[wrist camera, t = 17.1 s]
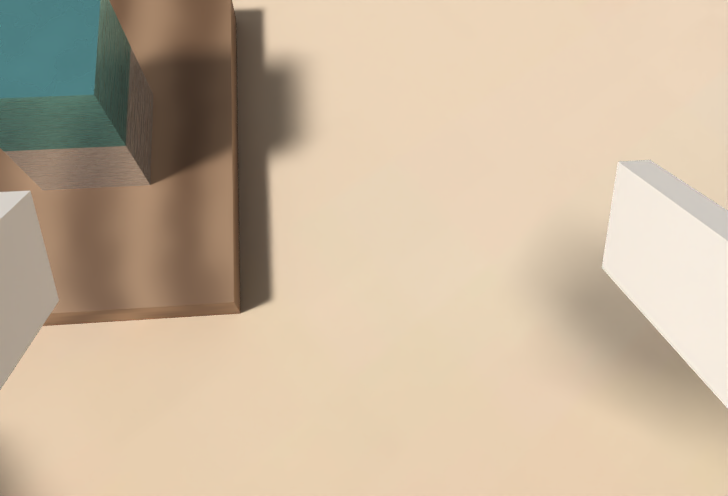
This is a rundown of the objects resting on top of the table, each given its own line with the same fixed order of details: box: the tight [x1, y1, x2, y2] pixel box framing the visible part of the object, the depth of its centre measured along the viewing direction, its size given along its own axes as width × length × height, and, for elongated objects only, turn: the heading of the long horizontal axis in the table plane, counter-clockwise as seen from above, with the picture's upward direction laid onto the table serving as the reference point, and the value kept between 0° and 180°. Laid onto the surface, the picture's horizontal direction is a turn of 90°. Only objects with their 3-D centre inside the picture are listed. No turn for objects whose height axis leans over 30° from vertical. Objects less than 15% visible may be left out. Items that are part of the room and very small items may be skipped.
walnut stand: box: [0, 0, 240, 326], centre depth 46 cm, size 18×24×3 cm
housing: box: [0, 0, 153, 190], centre depth 40 cm, size 7×7×11 cm
